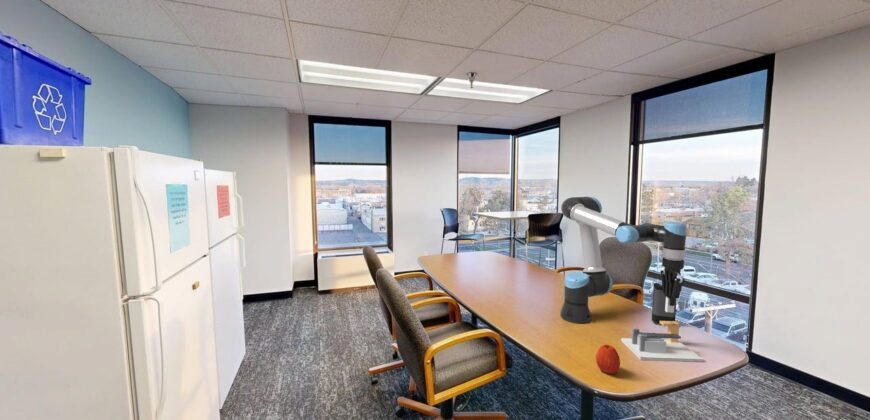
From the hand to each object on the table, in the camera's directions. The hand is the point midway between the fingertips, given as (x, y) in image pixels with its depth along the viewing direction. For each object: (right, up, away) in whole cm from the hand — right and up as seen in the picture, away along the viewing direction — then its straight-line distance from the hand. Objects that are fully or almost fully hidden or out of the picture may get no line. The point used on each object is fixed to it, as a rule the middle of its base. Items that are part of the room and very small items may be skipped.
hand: (669, 311), depth 140 cm
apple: (-35, -18, -16) cm, 43 cm away
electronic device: (+15, -14, +25) cm, 32 cm away
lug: (+3, -14, +5) cm, 16 cm away
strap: (-6, -10, -2) cm, 12 cm away
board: (-5, -16, -1) cm, 17 cm away
